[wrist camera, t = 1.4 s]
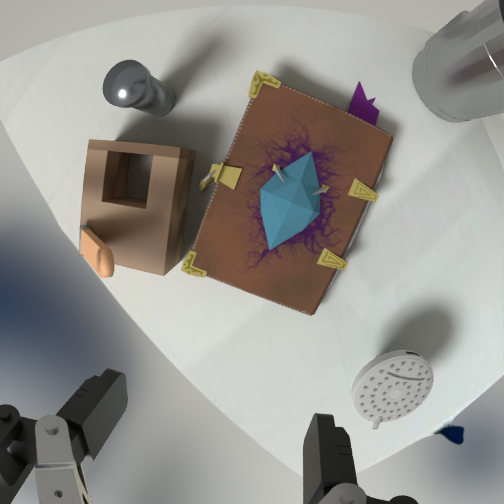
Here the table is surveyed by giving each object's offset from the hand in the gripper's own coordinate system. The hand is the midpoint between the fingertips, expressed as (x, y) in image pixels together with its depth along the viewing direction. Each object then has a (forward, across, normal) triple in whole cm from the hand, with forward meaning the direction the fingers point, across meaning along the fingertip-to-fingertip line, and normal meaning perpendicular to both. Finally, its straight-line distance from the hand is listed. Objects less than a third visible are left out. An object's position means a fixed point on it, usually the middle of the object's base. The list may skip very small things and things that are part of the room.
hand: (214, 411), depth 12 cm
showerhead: (+23, -17, +10) cm, 30 cm away
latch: (+15, +14, -1) cm, 20 cm away
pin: (+23, +13, -16) cm, 30 cm away
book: (+23, -2, -9) cm, 25 cm away
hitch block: (+22, +13, -4) cm, 27 cm away
